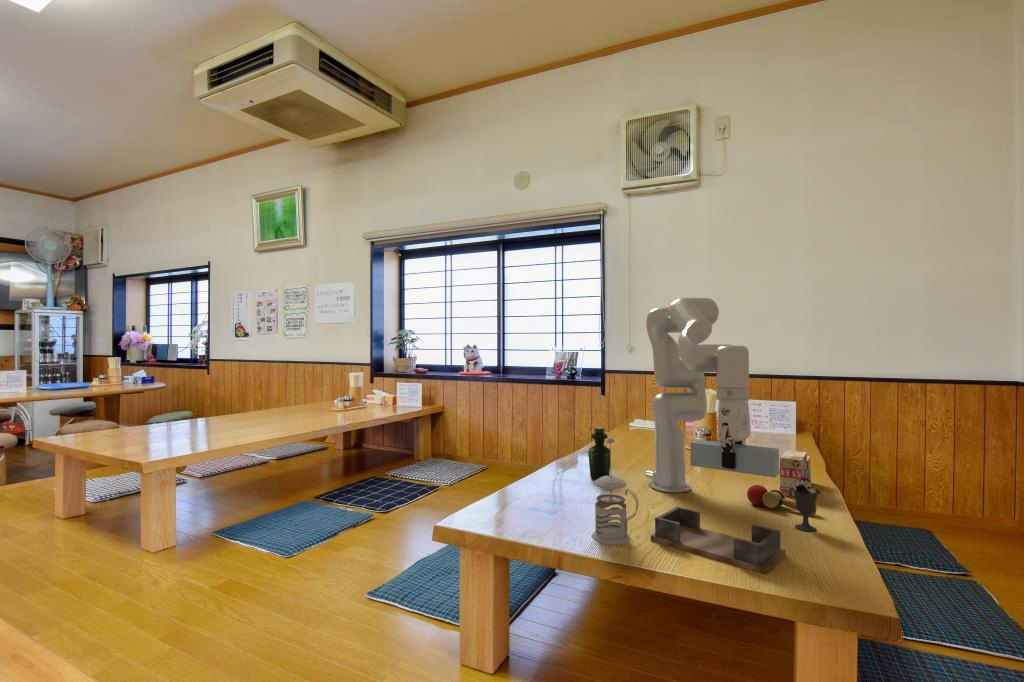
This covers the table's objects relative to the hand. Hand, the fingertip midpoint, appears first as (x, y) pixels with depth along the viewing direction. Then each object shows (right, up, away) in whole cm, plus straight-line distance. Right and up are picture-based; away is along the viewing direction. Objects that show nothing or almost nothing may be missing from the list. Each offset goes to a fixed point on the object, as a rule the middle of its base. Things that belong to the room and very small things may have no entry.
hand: (733, 465), depth 130 cm
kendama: (+22, -18, +19) cm, 34 cm away
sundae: (+21, -18, +4) cm, 27 cm away
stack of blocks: (+37, -18, +39) cm, 57 cm away
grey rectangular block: (0, -1, 0) cm, 1 cm away
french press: (-30, -18, -1) cm, 35 cm away
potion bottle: (-25, -18, +54) cm, 62 cm away
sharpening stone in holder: (-8, -18, -8) cm, 21 cm away
